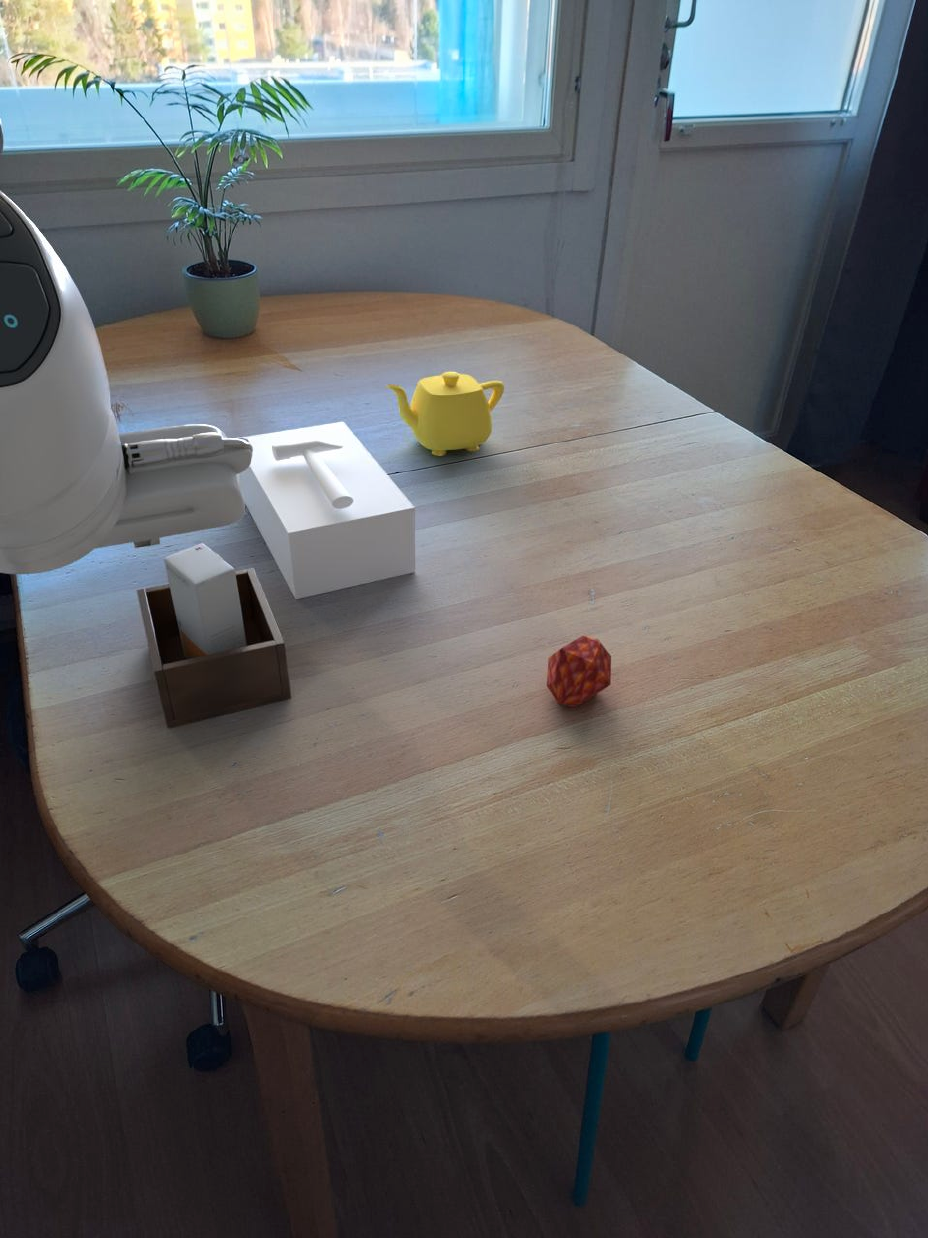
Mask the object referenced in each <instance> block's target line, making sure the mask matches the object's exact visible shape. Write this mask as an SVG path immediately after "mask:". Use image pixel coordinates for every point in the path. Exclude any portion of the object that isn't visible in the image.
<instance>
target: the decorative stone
mask: <svg viewBox="0 0 928 1238" xmlns="http://www.w3.org/2000/svg"><path fill="white" fill-rule="evenodd" d="M547 663H548V665H547V676H546V677H547V679H546V687H547V689H548V690H549V692H550V693H551V695H552V696H553V698H554V699H555V700H556V701H555V702H556V703H557V704H558V705H562V706H569V707H574V708H576V707H578V706H580V705H582V704H583V703H584V702H587V701H588V700H589V699H591V698H592V697H594V696H595V695H597V694H599V693H600V692H602V691H603V690H605V689H606V688H608V687H610V686H611V683H612V682H611V681H612V680H611V679H612V655H611V654H610V653H609V652H608V650H607V649H606V647H605V646H604V644H603V643H602V642H601V641H600V639H597V638H594V637H589V636H586V635H581V636H580V637H578V638H576V639H574V640H573V641H571V642H569V643H568V644H566V645H565V646H562V647H561V648H559V649H558V650H557V651H556V652H554V653H553V654H552V655H551V656H549V657H548V662H547Z"/></svg>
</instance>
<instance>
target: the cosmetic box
mask: <svg viewBox="0 0 928 1238" xmlns="http://www.w3.org/2000/svg"><path fill="white" fill-rule="evenodd" d="M163 561H164V566H165V572H166V575H167V580H168V584H169V585H170V590H171V595H172V599H173V604H174V609H175V614H176V618H177V623H178V627H179V632H180V637H181V641H182V646H183V651H184V656H185V657H186V658H187V659H191V658H196V657H200V656H205V655H209V654H214V653H218V652H223V651H227V650H232V649H236V648H241V647H245V646H247V644H246V638H245V632H244V625H243V619H242V613H241V607H240V600H239V594H238V588H237V582H236V575H235V571H236V570H235V568H234V567H233V566H232V565H230V563H228V562H227V561H225V560H224V558H222V557H221V556H220V554H218V553H217V552H215V551H213V550H212V549H211V548H210V547H208V546H207V545H205V544H204V543H202V542H201V543H198V544H196V545H193V546H191V547H187V548H185V549H182V550H179V551H177V552H175V553H171V554H169V555H167V556H164V558H163Z"/></svg>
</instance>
